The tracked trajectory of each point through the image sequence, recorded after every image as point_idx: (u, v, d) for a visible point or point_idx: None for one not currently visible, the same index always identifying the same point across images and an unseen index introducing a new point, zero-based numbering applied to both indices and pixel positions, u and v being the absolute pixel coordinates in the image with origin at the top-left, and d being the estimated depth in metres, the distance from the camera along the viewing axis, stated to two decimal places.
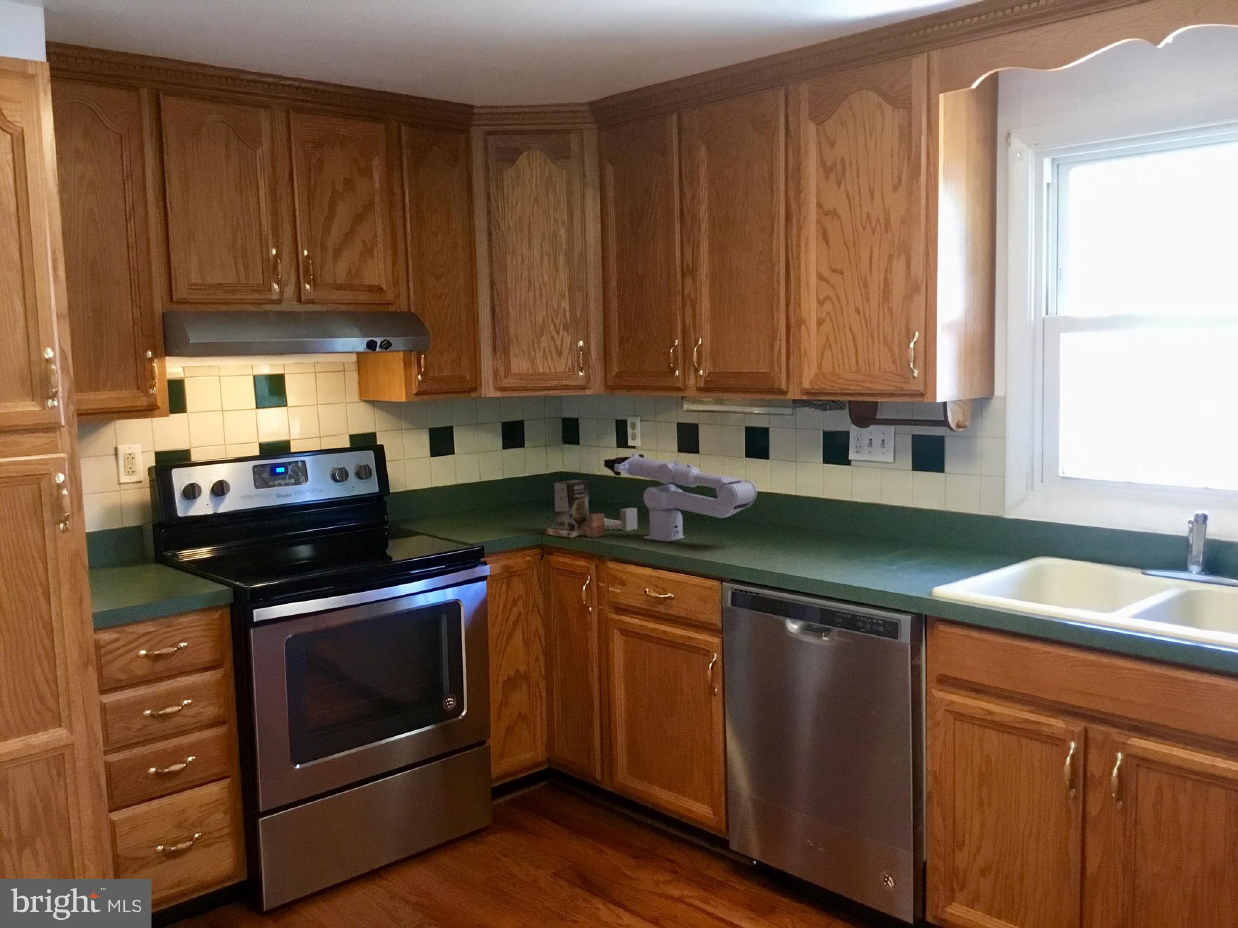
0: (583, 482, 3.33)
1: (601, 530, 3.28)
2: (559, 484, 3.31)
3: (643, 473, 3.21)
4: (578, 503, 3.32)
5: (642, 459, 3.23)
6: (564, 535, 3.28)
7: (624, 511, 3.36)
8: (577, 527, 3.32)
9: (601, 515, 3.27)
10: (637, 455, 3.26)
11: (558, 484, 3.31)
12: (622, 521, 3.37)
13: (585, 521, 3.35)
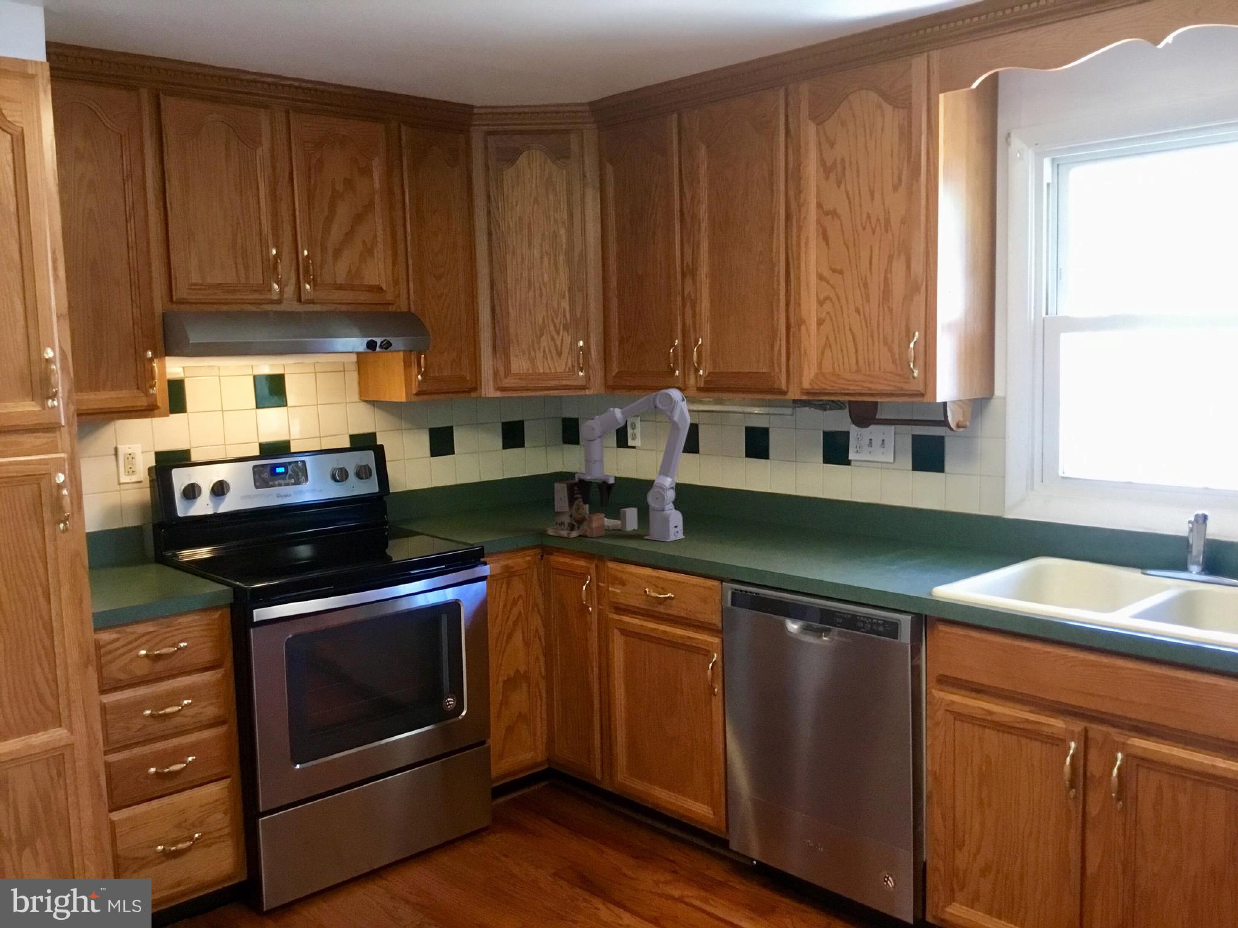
0: None
1: (601, 530, 3.28)
2: (559, 484, 3.31)
3: (594, 457, 3.23)
4: (578, 503, 3.32)
5: (590, 464, 3.23)
6: (564, 535, 3.28)
7: (624, 511, 3.36)
8: (577, 527, 3.32)
9: (601, 515, 3.27)
10: (585, 476, 3.24)
11: (558, 484, 3.31)
12: (622, 521, 3.37)
13: (585, 521, 3.35)
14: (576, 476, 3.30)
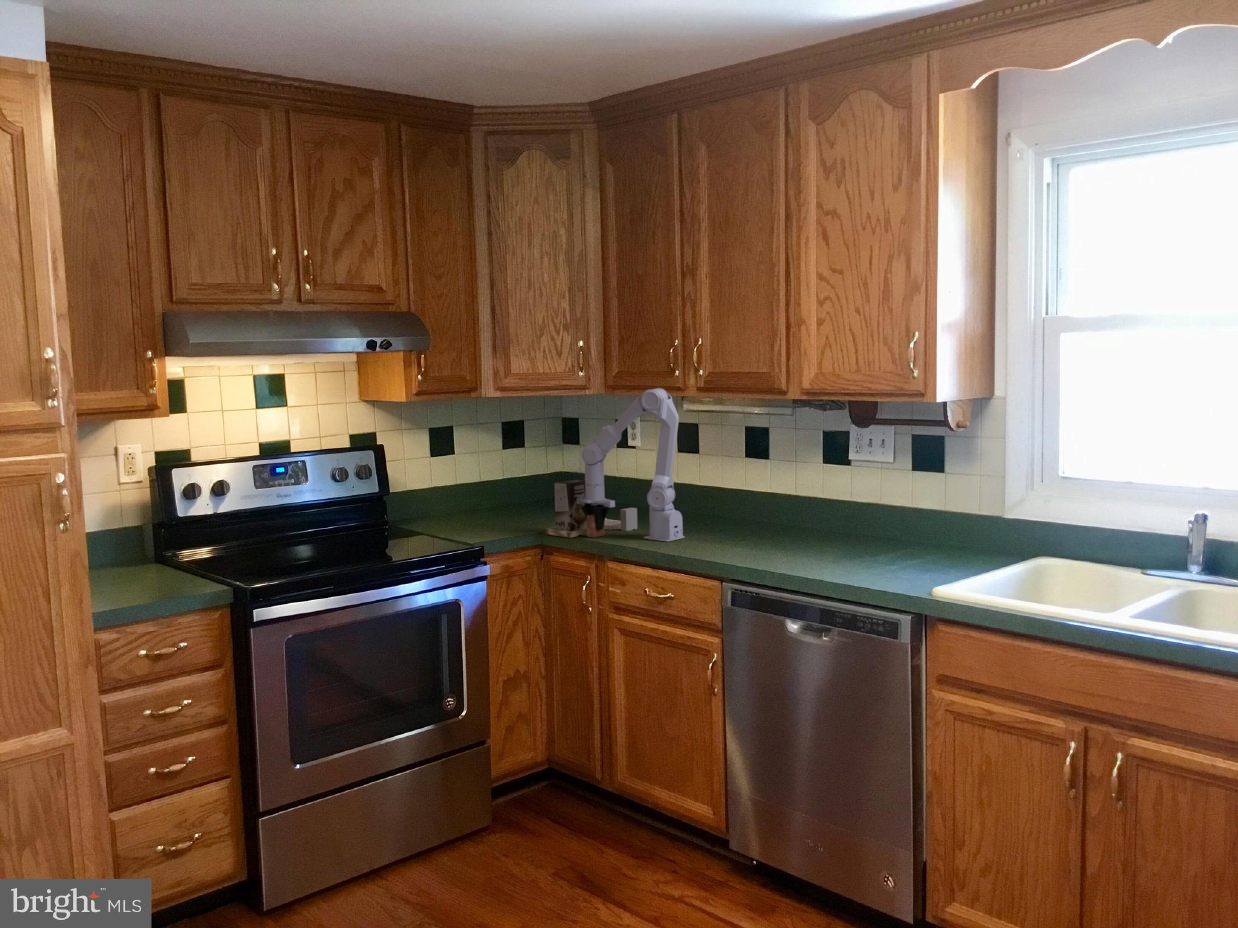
0: (583, 482, 3.33)
1: (601, 530, 3.28)
2: (559, 484, 3.31)
3: (595, 481, 3.23)
4: None
5: (591, 488, 3.24)
6: (564, 535, 3.28)
7: (624, 511, 3.36)
8: (577, 527, 3.32)
9: None
10: (586, 500, 3.25)
11: (558, 484, 3.31)
12: (622, 521, 3.37)
13: (585, 521, 3.35)
14: (577, 500, 3.31)
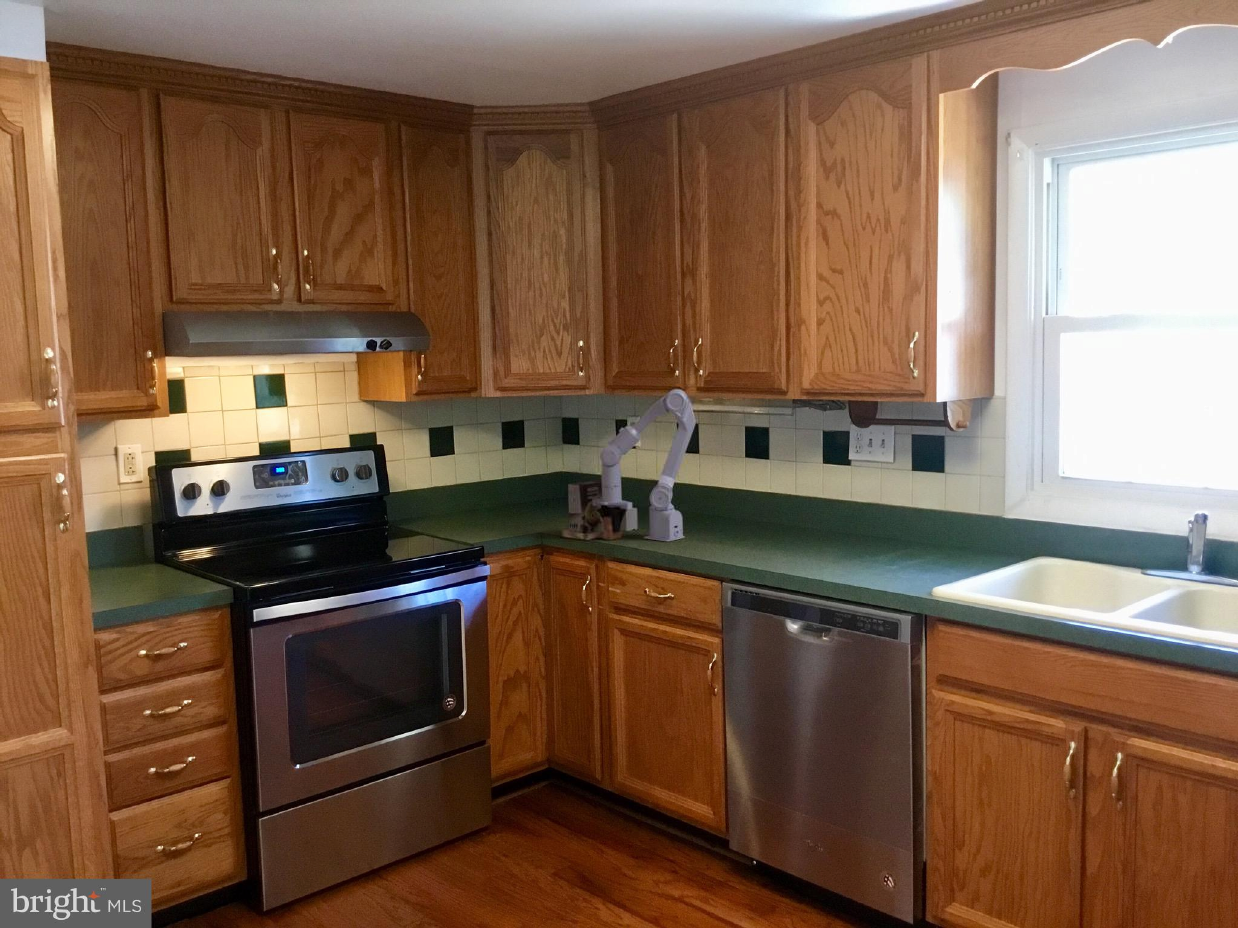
0: (597, 484, 3.28)
1: (618, 532, 3.23)
2: (572, 485, 3.26)
3: (614, 483, 3.19)
4: (592, 505, 3.27)
5: (608, 490, 3.19)
6: (581, 537, 3.23)
7: None
8: (590, 529, 3.27)
9: None
10: (603, 501, 3.20)
11: (571, 485, 3.26)
12: (622, 521, 3.37)
13: (599, 523, 3.30)
14: (593, 501, 3.26)
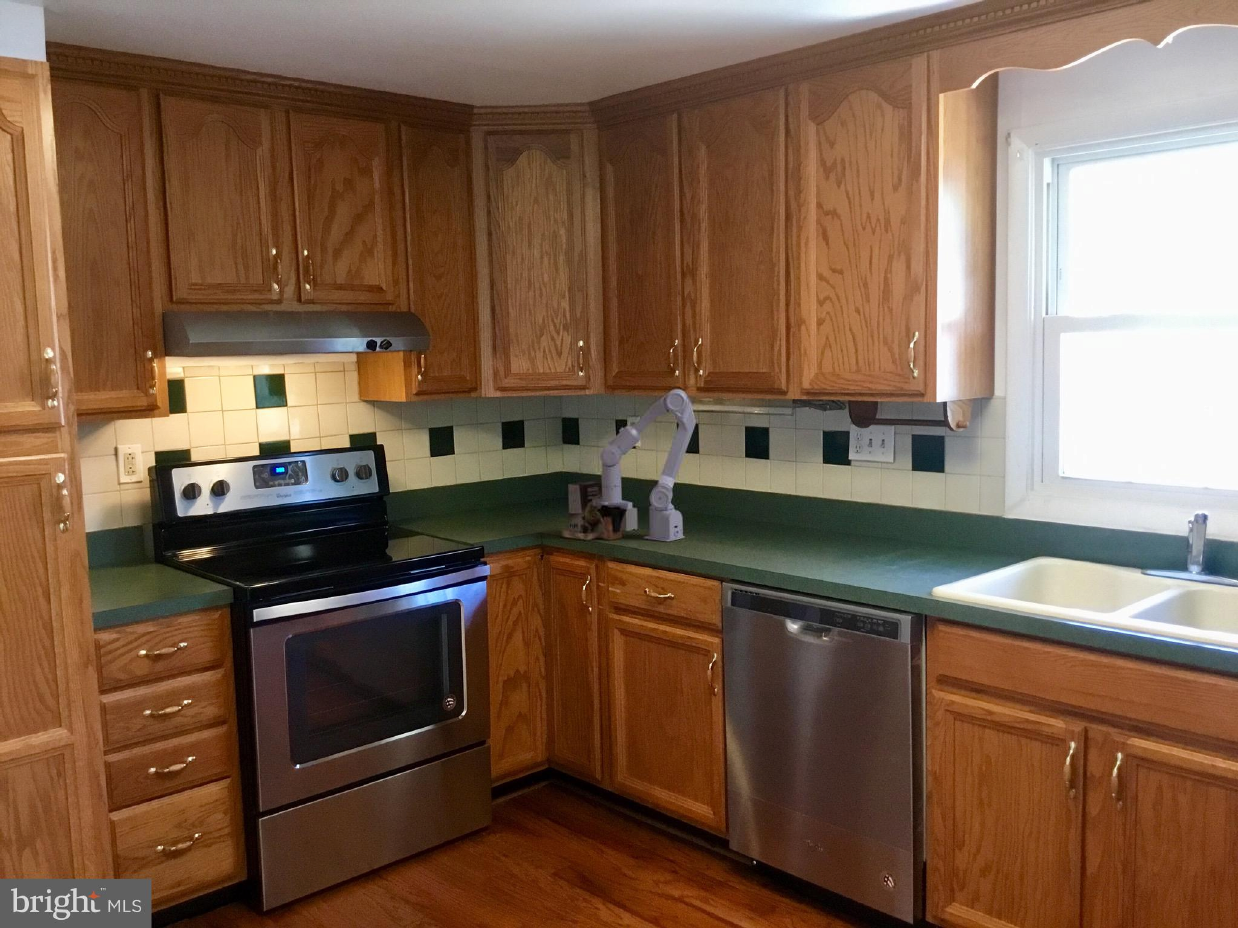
0: (597, 484, 3.28)
1: (618, 532, 3.23)
2: (572, 485, 3.26)
3: (614, 483, 3.19)
4: (592, 505, 3.27)
5: (608, 490, 3.19)
6: (581, 537, 3.23)
7: None
8: (590, 529, 3.27)
9: None
10: (603, 501, 3.20)
11: (571, 485, 3.26)
12: (622, 521, 3.37)
13: (600, 523, 3.30)
14: (593, 501, 3.26)
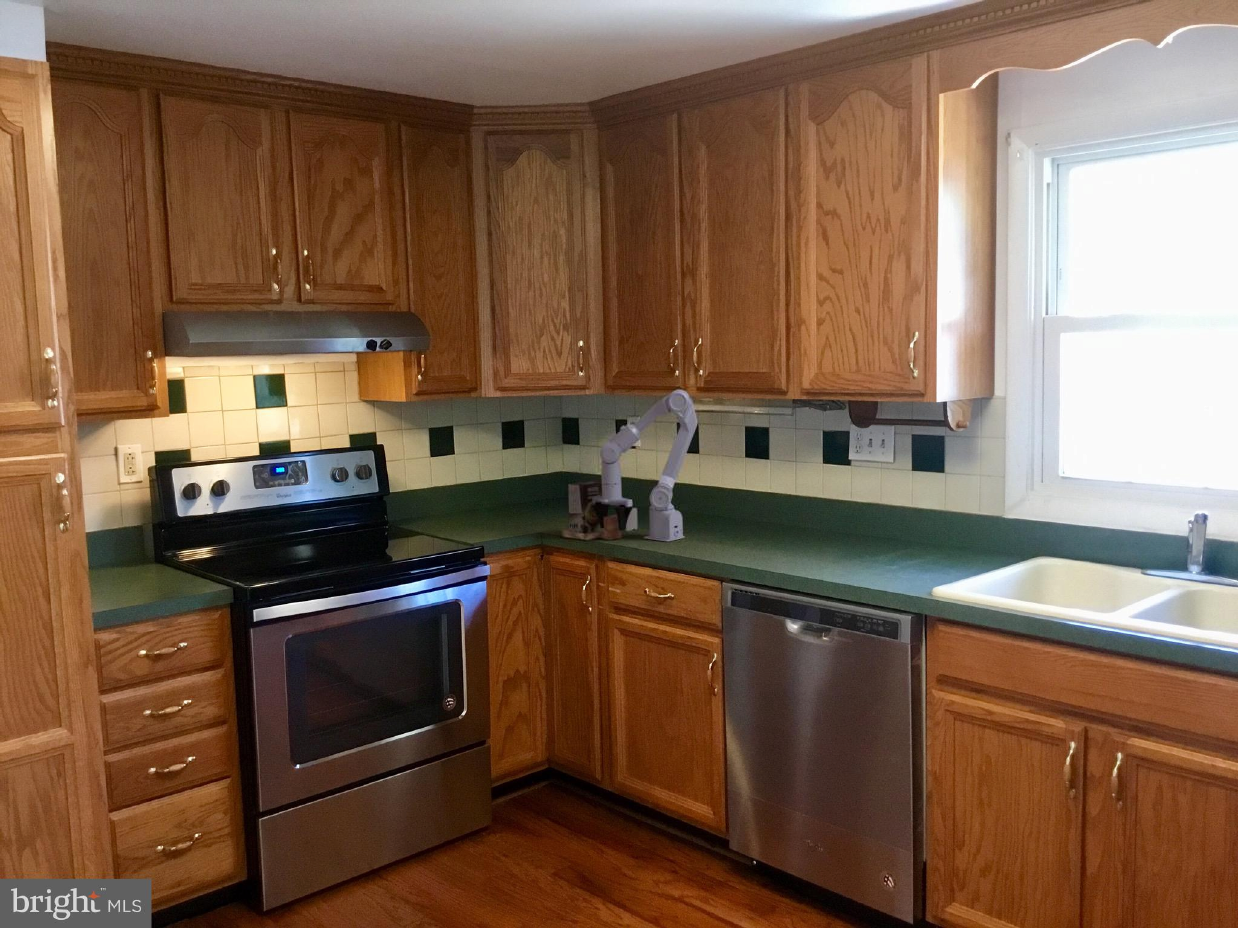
0: (597, 484, 3.28)
1: (618, 532, 3.23)
2: (572, 485, 3.26)
3: (614, 480, 3.19)
4: (592, 505, 3.27)
5: (608, 487, 3.19)
6: (581, 537, 3.23)
7: None
8: (590, 529, 3.27)
9: None
10: (603, 499, 3.20)
11: (572, 485, 3.26)
12: None
13: None
14: (593, 499, 3.26)
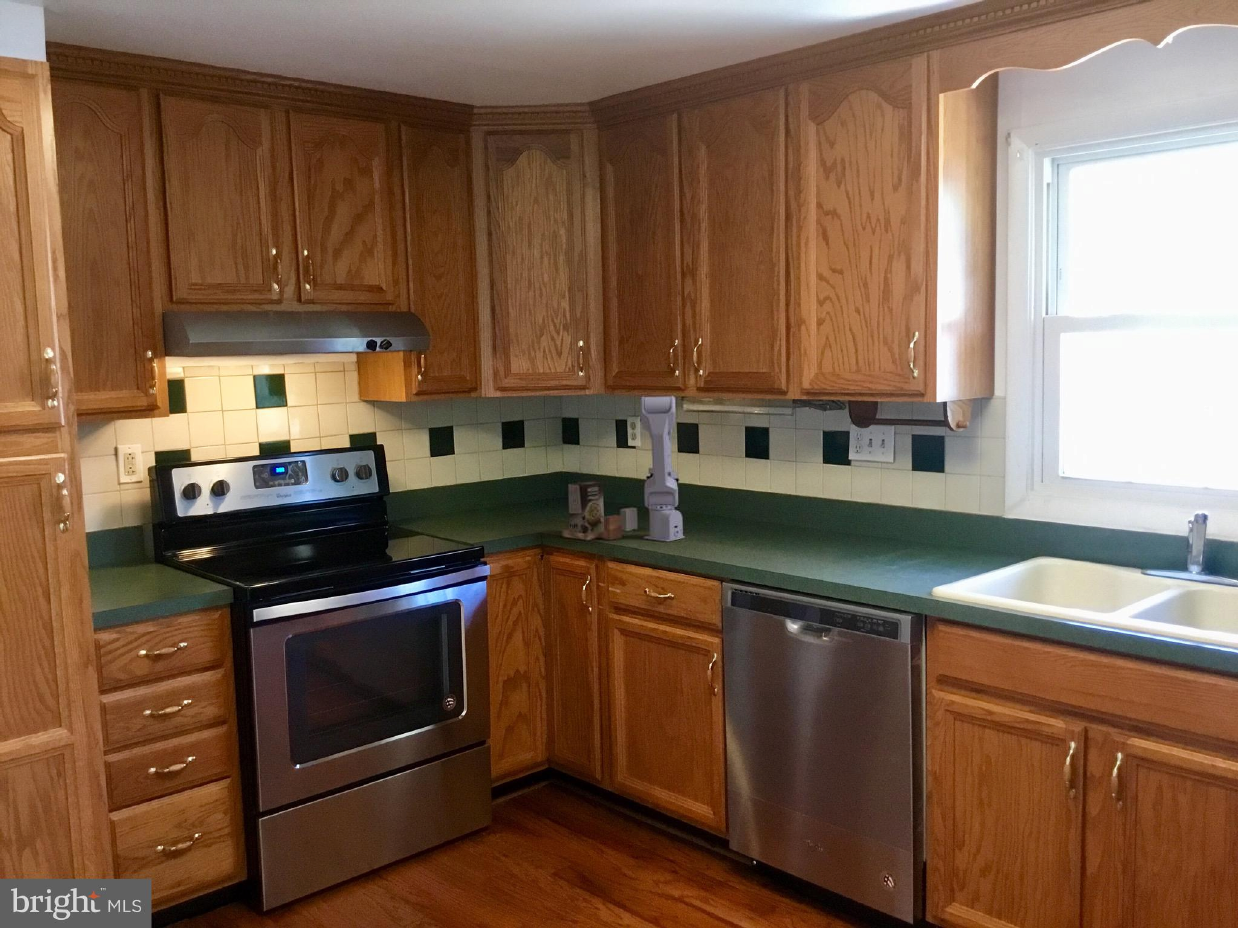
0: (597, 484, 3.28)
1: (618, 532, 3.23)
2: (572, 485, 3.26)
3: None
4: (592, 505, 3.27)
5: None
6: (581, 537, 3.23)
7: (624, 511, 3.36)
8: (590, 529, 3.27)
9: (618, 517, 3.23)
10: (652, 470, 3.33)
11: (572, 485, 3.26)
12: (622, 521, 3.37)
13: (600, 523, 3.30)
14: (649, 470, 3.40)
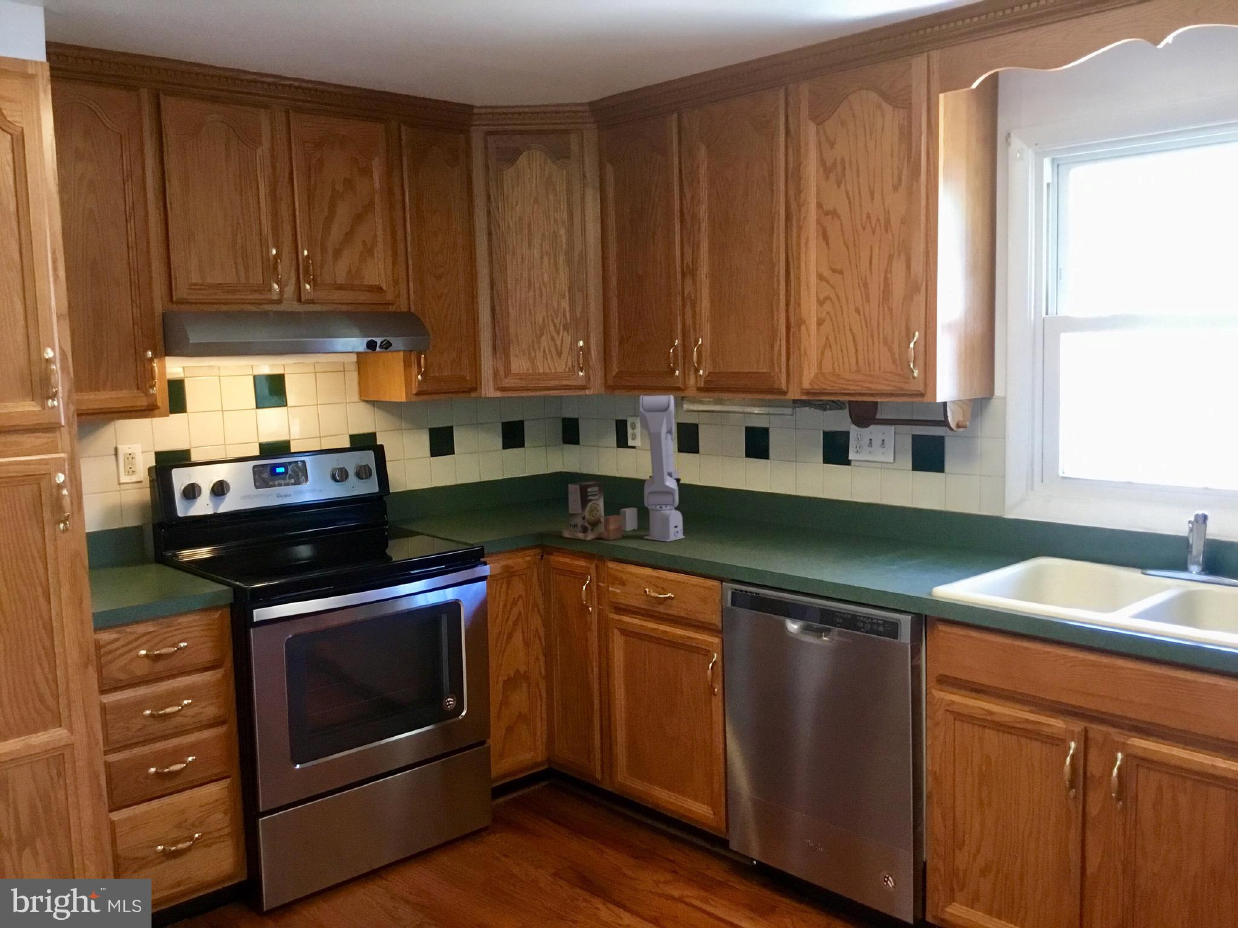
0: (597, 484, 3.28)
1: (618, 532, 3.23)
2: (572, 485, 3.26)
3: None
4: (592, 505, 3.27)
5: None
6: (581, 537, 3.23)
7: (624, 511, 3.36)
8: (590, 529, 3.27)
9: (618, 517, 3.23)
10: None
11: (572, 485, 3.26)
12: (622, 521, 3.37)
13: (600, 523, 3.30)
14: None
